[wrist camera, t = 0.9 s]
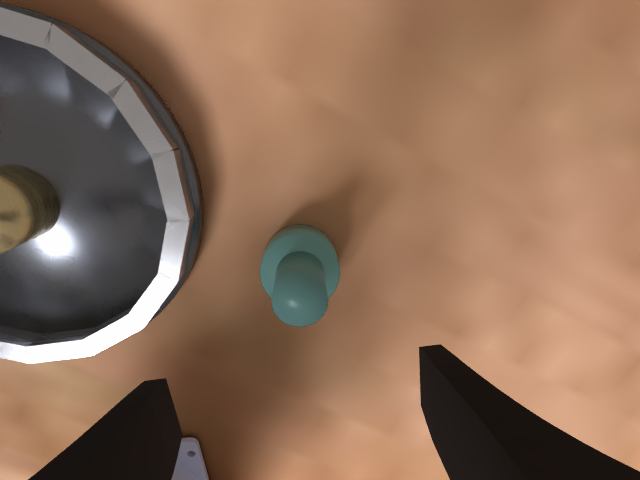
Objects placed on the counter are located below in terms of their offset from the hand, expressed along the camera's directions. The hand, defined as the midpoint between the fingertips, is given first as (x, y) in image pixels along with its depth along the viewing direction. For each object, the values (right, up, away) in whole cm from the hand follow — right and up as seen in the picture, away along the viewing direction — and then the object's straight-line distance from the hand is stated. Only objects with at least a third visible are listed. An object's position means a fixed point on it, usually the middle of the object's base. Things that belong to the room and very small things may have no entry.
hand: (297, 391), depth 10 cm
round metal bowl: (-14, +6, +8) cm, 17 cm away
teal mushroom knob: (0, +3, +10) cm, 10 cm away
